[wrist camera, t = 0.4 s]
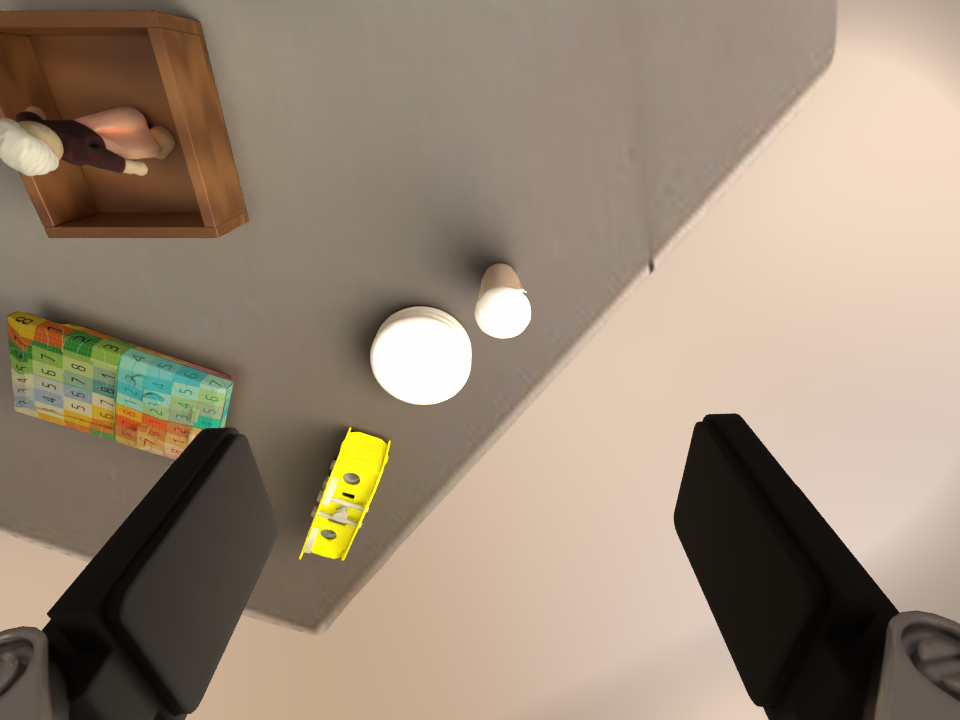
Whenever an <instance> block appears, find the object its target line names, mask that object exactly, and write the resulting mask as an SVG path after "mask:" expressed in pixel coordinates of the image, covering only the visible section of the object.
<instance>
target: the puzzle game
mask: <svg viewBox="0 0 960 720" xmlns="http://www.w3.org/2000/svg"><path fill="white" fill-rule="evenodd" d="M7 321H8V334H9V347H10V361H11V374H12V387H13V400H14V411H17V412H20V413H24V414H27V415H30V416H33V417H37V418H40V419H43V420H47V421H50V422H53V423H56V424H60V425H63V426H66V427H70V428H73V429H76V430H79V431H83V432H86V433H89V434H92V435H96V436H99V437H102V438H106V439H109V440H112V441H115V442H119V443H122V444H125V445H129V446H132V447H135V448H138V449H142V450H145V451H148V452H152V453H155V454H158V455H161V456H165V457H168V458H171V459H174V460H176V459H177V458H178V457H179V456H180V455H181V453H182V452H183V451H184V450H185V449H186V447H187V446H188V445H189V444H190V443H191V441H192V440H193V439H194V438H195V437H196V435H197V434H198V433H199V432H200V431H201V430H203V429H206V428H224V427H225V422H226V417H227V412H228V407H229V403H230V398H231V393H232V388H233V383H234V382H233V380H232V379H231V376H228V375H225V374H222V373H219V372H216V371H213V370H210V369H207V368H204V367H201V366H198V365H195V364H192V363H189V362H186V361H183V360H180V359H177V358H174V357H172V356H169V355H166V354H163V353H160V352H157V351H154V350H151V349H148V348H145V347H142V346H139V345H136V344H133V343H130V342H127V341H124V340H121V339H118V338H115V337H112V336H109V335H106V334H103V333H100V332H97V331H94V330H91V329H88V328H85V327H81V326H77V325H73V324H58V323H55V322H52V321H49V320H46V319H43V318H40V317H38V316H35V315H32V314H29V313H24V312H15V313H12V314H10V315H8V316H7Z"/></svg>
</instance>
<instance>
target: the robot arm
mask: <svg viewBox="0 0 960 720" xmlns="http://www.w3.org/2000/svg"><path fill="white" fill-rule="evenodd" d="M674 525H675V529H676V532H677V534H678V536H679V539H680V541H681V543H682V545H683V548H684V550H685V552H686V555H687V557H688V559H689V561H690V563H691V566H692V568H693V570H694V573H695V575H696V577H697V579H698V582H699V584H700V586H701V588H702V591H703V593H704V595H705V598H706V599H707V602H708V604H709V607H710V609H711V611H712V613H713V615H714V618H715V620H716V622H717V625H718V627H719V629H720V631H721V634H722V636H723V638H724V640H725V643H726V645H727V647H728V650H729V652H730V654H731V656H732V658H733V661H734V663H735V665H736V667H737V670H738V672H739V674H740V677H741V679H742V681H743V683H744V686H745V688H746V690H747V693H748V695H749V696H750V698H751V700H752V701H753V703H754V704H755V705H757V706H760V707H763V708H764V710H765V712H766V715H767V717H768V719H769V720H960V624H959V623H957V622H955V621H953V620H950V619H947V618H944V617H942V616H939V615H936V614H933V613H927V612H921V611H908V612H901V613H899V612H898V610H897V609H896V608H895V606H894V605H893V604H892V603H891V602H890V600H889V599H888V598H887V596H886V595H885V594H884V593H883V591H882V590H881V589H880V588H879V587H878V585H877V584H876V583H875V582H874V580H873V579H872V578H871V577H870V575H869V574H868V573H867V572H866V570H865V569H864V568H863V567H862V565H861V564H860V563H859V562H858V561H857V559H856V558H855V557H854V555H853V554H852V553H851V552H850V550H849V549H848V548H847V547H846V546H845V544H844V543H843V542H842V540H841V539H840V538H839V537H838V535H837V534H836V533H835V532H834V530H833V529H832V528H831V527H830V526H829V524H828V523H827V522H826V521H825V519H824V518H823V517H822V516H821V514H820V513H819V512H818V511H817V510H816V508H815V507H814V506H813V504H812V503H811V502H810V501H809V499H808V498H807V497H806V496H805V495H804V493H803V492H802V491H801V489H800V488H799V487H798V486H797V485H796V484H795V483H794V482H793V481H792V479H791V478H790V477H789V476H788V475H787V473H786V472H785V471H784V469H783V468H782V467H781V466H780V464H779V463H778V462H777V461H776V459H775V458H774V457H773V456H772V455H771V453H770V452H769V451H768V449H767V448H766V447H765V446H764V444H762V442H761V441H760V439H759V438H758V437H757V436H756V435H755V433H754V432H753V431H752V429H751V428H750V427H749V426H748V425H747V423H746V422H745V421H744V420H743V418H742V417H741V416H740V415H738V414H709V415H706V416H705V417H704V419H703V421H702V422H697V423H696V424H695V427H694V431H693V435H692V439H691V444H690V448H689V452H688V456H687V461H686V465H685V469H684V473H683V478H682V482H681V486H680V490H679V494H678V499H677V503H676V507H675V512H674ZM277 534H278V524H277V520H276V517H275V515H274V512H273V509H272V506H271V503H270V501H269V498H268V495H267V492H266V490H265V487H264V484H263V481H262V479H261V476H260V473H259V470H258V468H257V465H256V462H255V459H254V456H253V454H252V451H251V448H250V445H249V443H248V440H247V438H246V436H245V435H243V434H239V432H238V431H237V430H236V429H235V428H206V429H203V430H201V431H200V432H199V433H198V434H197V435H196V437H195V438H194V439H193V440H192V441H191V443H190V444H189V445H188V446H187V447H186V449H185V450H184V451H183V452H182V453H181V455H180V456H179V457H178V458H177V459H176V461H175V462H174V463H173V464H172V465H171V466H170V468H169V469H168V470H167V471H166V472H165V474H164V475H163V476H162V477H161V478H160V480H159V481H158V482H157V483H156V484H155V486H154V487H153V488H152V489H151V490H150V491H149V493H148V494H147V495H146V496H145V497H144V499H143V500H142V501H141V502H140V503H139V505H138V506H137V507H136V508H135V509H134V511H133V512H132V513H131V514H130V515H129V516H128V518H127V519H126V520H125V521H124V522H123V524H122V525H121V526H120V527H119V528H118V530H117V531H116V532H115V533H114V534H113V536H112V537H111V538H110V539H109V540H108V541H107V543H106V544H105V545H104V546H103V547H102V549H101V550H100V551H99V552H98V553H97V555H96V556H95V557H94V558H93V559H92V561H91V562H90V563H89V564H88V565H87V566H86V568H85V569H84V570H83V571H82V572H81V574H80V575H79V576H78V577H77V578H76V580H75V581H74V582H73V583H72V584H71V586H70V587H69V588H68V589H67V590H66V591H65V593H64V594H63V595H62V596H61V597H60V599H59V600H58V601H57V602H56V603H55V605H54V606H53V607H52V608H51V609H50V611H49V612H48V613H47V615H48V616H49V617H50V618H51V620H50V621H49V623H48V624H47V625H46V626H45V627H44V629H43V630H42V631H40V630H39V629H37V628H35V627H24V626H22V627H17V628H13V629H8V630H4V631H2V632H0V720H185V718H186V716H187V714H191V713H192V712H194V711H195V710H196V708H197V707H198V706H199V704H200V702H201V700H202V698H203V696H204V694H205V692H206V690H207V687H208V685H209V683H210V681H211V679H212V677H213V674H214V672H215V670H216V668H217V666H218V663H219V661H220V659H221V657H222V655H223V653H224V651H225V649H226V646H227V644H228V642H229V640H230V638H231V636H232V634H233V631H234V629H235V627H236V625H237V623H238V621H239V619H240V616H241V614H242V612H243V610H244V608H245V606H246V603H247V601H248V599H249V597H250V595H251V593H252V591H253V588H254V586H255V584H256V582H257V580H258V578H259V575H260V573H261V571H262V569H263V567H264V565H265V563H266V560H267V558H268V556H269V554H270V552H271V550H272V547H273V545H274V543H275V541H276V538H277Z"/></svg>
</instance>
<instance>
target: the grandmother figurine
mask: <svg viewBox="0 0 960 720" xmlns="http://www.w3.org/2000/svg"><path fill="white" fill-rule="evenodd" d="M16 121H17V122H15V121H14V120H12V119H9V118H0V158H1V159H2V160H3V161H4V162H5V163H6V164H7V165H8V166H9V167H11V168H14V169H15V170H18V171H19V172H21V173H23V174H25V175H27V176H35V175H43V174H47V173H49V171H53V170H55V169H56V168H57V167H58V165H59V160H60V159H62V160H64V161H67V162H69V163H71V164H73V165H80V166H81V165H89V166H92V167H96V168H99V169H105V170H109V171H113V172H117V173H128V174H133V173H134V174H136V175H140V176H143V175H145V174H146V173H147V172H148V168H147V166H146V164H145V163H143V162H141V161H133V160H131V159H141V158H151V157H154V158H157V159H160V160H162V159H164V158H166V157H167V156H168V154H169V153H170V152H171V151H172V150H173V149H174V147H175V145H176V141H175V137H174V136H173V134H172V133H171V132H170V131H169V130H168V129H166V128H165V127H163V126H158V125H157V126H154V127H152V128H151V129H149V128H148V125H147V121H146V119H145V117H144V115H143V114H142V113H141V112H139V111H138V110H137V109H136V108H133V107H130V106H125V107H118V108H114V109H110V110H106V111H102V112H99V113H96V114H92V115H87V116H84V117H80V118H78V119H75V120H46V116H45V113H44V112H43V111H42V110H41V109H40V108H37V107H33V106H32V107H28V108H27V109H26V110H25V111H24V112H20V113H18V114H17V115H16Z"/></svg>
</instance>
